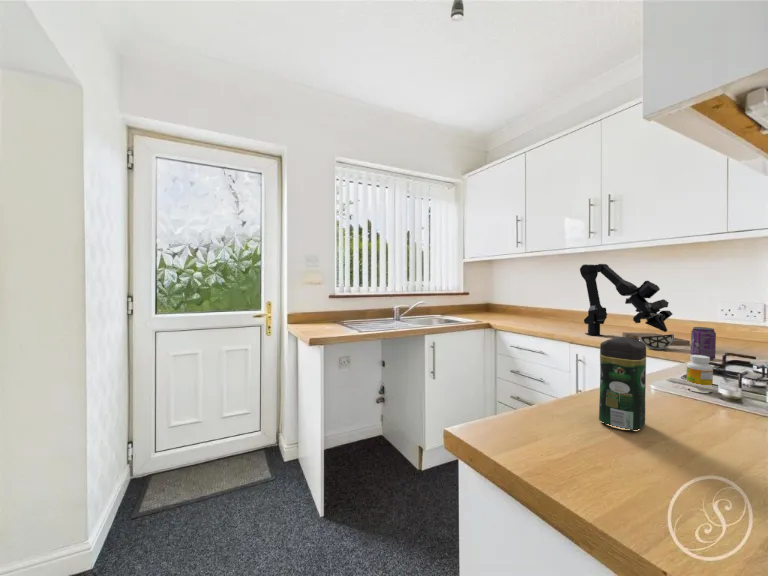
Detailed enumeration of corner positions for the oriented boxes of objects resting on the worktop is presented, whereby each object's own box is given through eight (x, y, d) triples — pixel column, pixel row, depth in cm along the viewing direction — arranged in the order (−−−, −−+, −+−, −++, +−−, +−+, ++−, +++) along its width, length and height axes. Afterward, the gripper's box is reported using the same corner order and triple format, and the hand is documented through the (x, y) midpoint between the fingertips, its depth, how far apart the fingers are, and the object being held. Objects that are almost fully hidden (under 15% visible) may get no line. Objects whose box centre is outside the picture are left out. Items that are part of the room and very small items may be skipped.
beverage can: (697, 355, 139) (698, 326, 139) (719, 359, 133) (720, 328, 132) (686, 357, 137) (687, 327, 136) (708, 361, 130) (709, 329, 130)
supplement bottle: (681, 387, 99) (682, 353, 98) (702, 388, 98) (703, 354, 97) (694, 393, 93) (696, 358, 93) (717, 394, 92) (718, 358, 92)
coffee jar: (605, 412, 80) (607, 333, 79) (648, 422, 74) (650, 337, 74) (593, 424, 73) (595, 338, 73) (639, 437, 67) (641, 343, 67)
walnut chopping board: (622, 336, 187) (622, 332, 186) (653, 336, 185) (653, 332, 185) (654, 344, 163) (654, 340, 163) (689, 345, 162) (689, 340, 161)
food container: (640, 350, 160) (642, 350, 152) (637, 337, 161) (639, 336, 153) (674, 348, 153) (678, 348, 145) (671, 334, 155) (674, 333, 147)
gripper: (640, 293, 156) (666, 320, 146) (668, 293, 162) (695, 319, 152) (622, 309, 164) (646, 336, 154) (650, 308, 170) (674, 334, 160)
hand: (666, 331), depth 154 cm, fingers closed
